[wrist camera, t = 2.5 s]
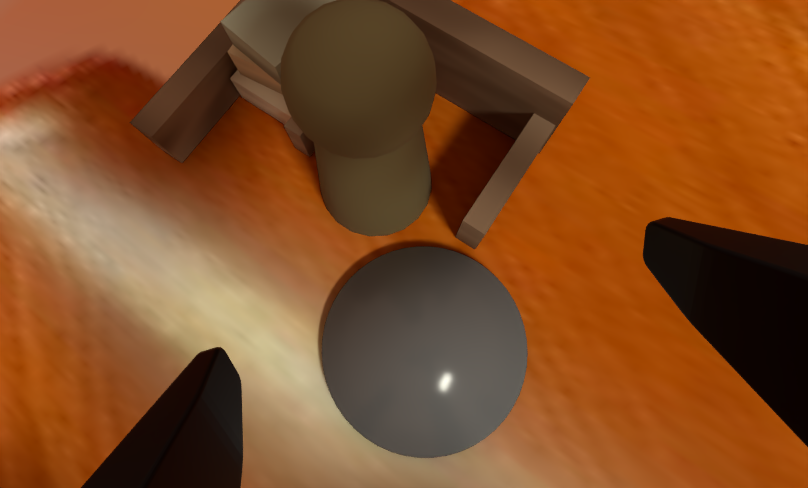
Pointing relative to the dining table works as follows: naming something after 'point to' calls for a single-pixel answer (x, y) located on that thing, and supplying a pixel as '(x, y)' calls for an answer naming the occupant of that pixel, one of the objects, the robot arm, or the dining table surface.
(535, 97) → the rack
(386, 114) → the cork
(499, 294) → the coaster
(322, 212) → the dining table surface
